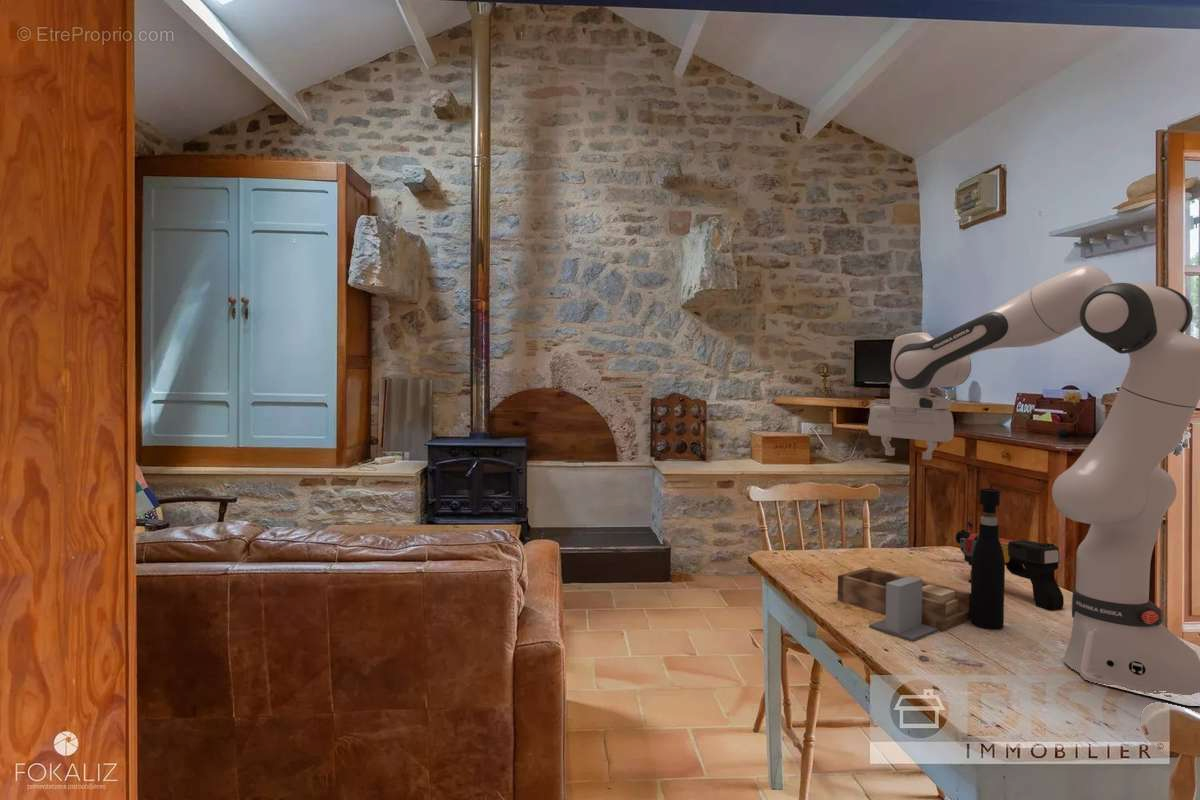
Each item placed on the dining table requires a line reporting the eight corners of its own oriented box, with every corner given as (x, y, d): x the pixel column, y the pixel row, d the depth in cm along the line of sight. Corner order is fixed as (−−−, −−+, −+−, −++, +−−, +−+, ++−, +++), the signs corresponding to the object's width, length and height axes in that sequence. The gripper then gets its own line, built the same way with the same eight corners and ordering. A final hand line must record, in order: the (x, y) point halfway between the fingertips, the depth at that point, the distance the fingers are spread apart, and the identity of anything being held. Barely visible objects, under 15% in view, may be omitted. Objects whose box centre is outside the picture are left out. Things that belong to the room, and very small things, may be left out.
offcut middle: (957, 610, 157) (957, 599, 157) (942, 617, 153) (942, 606, 153) (927, 602, 163) (927, 592, 163) (911, 608, 159) (911, 597, 159)
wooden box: (971, 619, 158) (972, 593, 157) (941, 631, 150) (942, 604, 150) (868, 590, 179) (869, 567, 178) (837, 599, 171) (837, 575, 171)
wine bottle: (1007, 630, 151) (1011, 492, 150) (975, 628, 152) (978, 491, 151) (997, 620, 157) (1000, 487, 156) (966, 618, 158) (969, 486, 157)
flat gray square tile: (938, 631, 150) (938, 628, 150) (912, 641, 144) (912, 638, 144) (894, 618, 158) (895, 615, 158) (869, 627, 152) (869, 624, 152)
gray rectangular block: (921, 624, 153) (922, 579, 152) (898, 633, 147) (899, 586, 147) (908, 620, 155) (909, 576, 155) (885, 629, 150) (886, 583, 149)
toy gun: (969, 582, 191) (968, 527, 192) (1067, 609, 165) (1065, 545, 165) (950, 584, 189) (949, 529, 190) (1046, 612, 163) (1045, 547, 163)
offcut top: (954, 599, 157) (955, 590, 157) (941, 604, 154) (941, 595, 154) (928, 593, 162) (929, 584, 162) (915, 597, 159) (915, 589, 159)
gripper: (863, 398, 174) (861, 453, 175) (944, 402, 158) (942, 463, 158) (877, 398, 178) (876, 452, 178) (958, 401, 161) (956, 461, 162)
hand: (907, 457), depth 168 cm, fingers open, 8 cm apart
